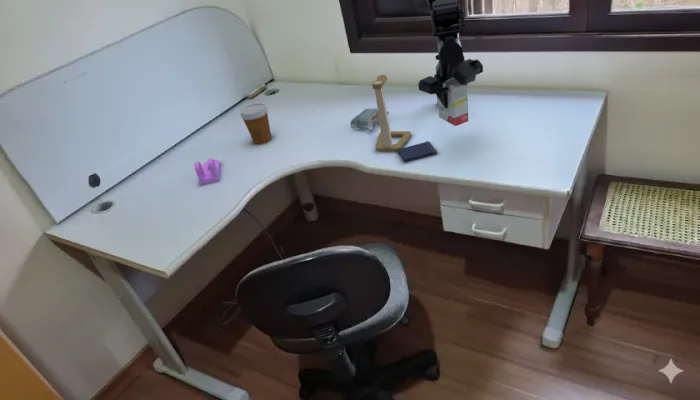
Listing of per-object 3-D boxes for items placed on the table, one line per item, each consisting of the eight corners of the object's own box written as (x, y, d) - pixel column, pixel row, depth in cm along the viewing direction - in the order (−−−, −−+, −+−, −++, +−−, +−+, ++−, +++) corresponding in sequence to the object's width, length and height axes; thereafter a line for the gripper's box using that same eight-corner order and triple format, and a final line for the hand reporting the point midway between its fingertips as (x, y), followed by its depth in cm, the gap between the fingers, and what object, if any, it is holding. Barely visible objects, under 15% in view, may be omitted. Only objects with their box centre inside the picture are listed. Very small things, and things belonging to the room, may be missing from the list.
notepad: (429, 143, 158) (428, 140, 157) (437, 154, 152) (436, 151, 151) (397, 152, 157) (397, 149, 156) (404, 163, 151) (404, 159, 150)
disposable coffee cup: (281, 136, 182) (272, 104, 175) (260, 148, 176) (250, 116, 170) (264, 131, 188) (255, 100, 181) (244, 143, 182) (233, 112, 176)
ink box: (469, 121, 147) (467, 82, 141) (455, 127, 146) (452, 87, 139) (452, 111, 154) (450, 74, 147) (438, 117, 153) (435, 79, 146)
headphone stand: (412, 134, 164) (403, 68, 152) (404, 152, 156) (394, 83, 144) (380, 135, 168) (369, 70, 156) (371, 152, 160) (358, 85, 148)
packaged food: (390, 119, 177) (387, 105, 174) (371, 135, 169) (369, 121, 167) (368, 116, 182) (366, 104, 179) (350, 132, 174) (347, 119, 172)
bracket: (218, 180, 163) (211, 161, 159) (201, 185, 163) (193, 166, 159) (220, 161, 174) (213, 143, 170) (204, 165, 174) (197, 147, 170)
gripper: (441, 68, 129) (446, 124, 138) (496, 45, 136) (498, 100, 144) (414, 60, 138) (420, 113, 146) (467, 38, 144) (470, 90, 153)
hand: (453, 104), depth 147 cm, fingers closed on ink box, 5 cm apart
